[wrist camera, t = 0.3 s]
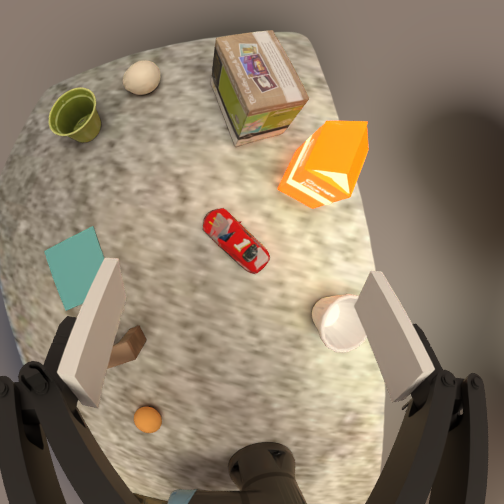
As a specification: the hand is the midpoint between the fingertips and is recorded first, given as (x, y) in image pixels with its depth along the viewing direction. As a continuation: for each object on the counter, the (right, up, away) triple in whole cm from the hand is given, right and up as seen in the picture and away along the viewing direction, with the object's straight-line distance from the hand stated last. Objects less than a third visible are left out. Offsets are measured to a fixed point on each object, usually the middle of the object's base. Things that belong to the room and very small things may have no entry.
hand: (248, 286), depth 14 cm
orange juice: (+10, +15, +37) cm, 41 cm away
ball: (-20, -30, +30) cm, 47 cm away
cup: (+14, -10, +39) cm, 42 cm away
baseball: (-21, +34, +31) cm, 51 cm away
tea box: (-1, +29, +35) cm, 45 cm away
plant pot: (-31, +25, +30) cm, 50 cm away
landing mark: (-31, -2, +30) cm, 44 cm away
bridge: (-26, -15, +32) cm, 44 cm away
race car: (-3, +4, +36) cm, 36 cm away
